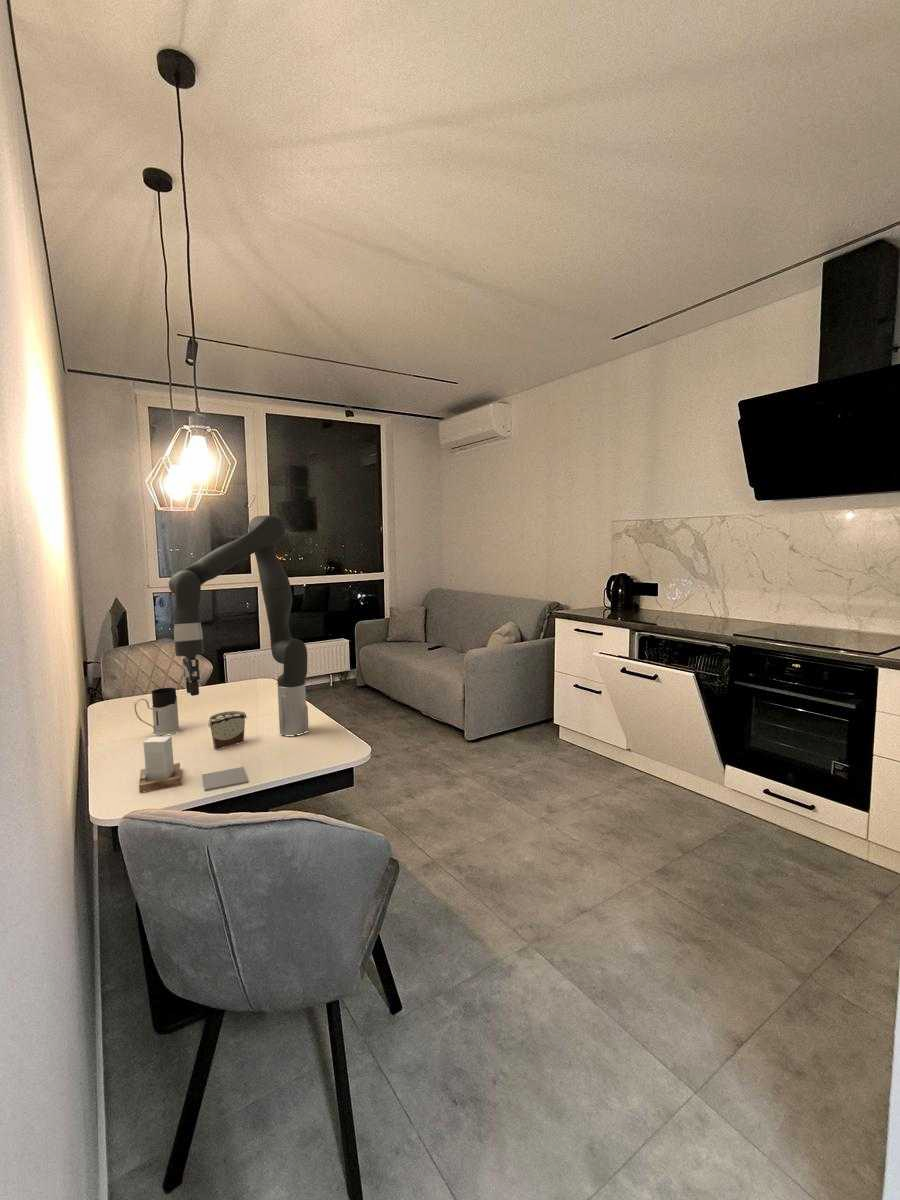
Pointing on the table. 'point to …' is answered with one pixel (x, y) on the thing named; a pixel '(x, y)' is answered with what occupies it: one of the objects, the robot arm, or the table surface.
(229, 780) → the rubber pad
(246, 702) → the table surface
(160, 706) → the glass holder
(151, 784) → the walnut holder
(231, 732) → the food container
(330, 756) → the table surface
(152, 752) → the skincare box
